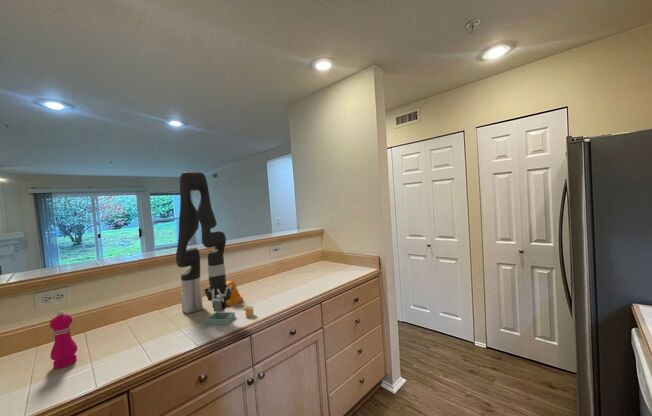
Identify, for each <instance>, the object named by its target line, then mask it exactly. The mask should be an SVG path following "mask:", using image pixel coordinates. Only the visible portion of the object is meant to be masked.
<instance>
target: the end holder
mask: <svg viewBox="0 0 652 416" xmlns="http://www.w3.org/2000/svg"><path fill="white" fill-rule="evenodd" d="M235 318H236V313H235V311H225V312H213V313H212V314H211V315H210V316H208V317H206V318H205V324H206V325H210V326H211V325H212V326H227V325H228V324H229V323H230V322H231V321H233V320H234V319H235Z"/></svg>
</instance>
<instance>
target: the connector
mask: <svg viewBox="0 0 652 416" xmlns="http://www.w3.org/2000/svg"><path fill="white" fill-rule="evenodd" d="M212 309H213V313H215V312H222V311H223V309H222V300H221V298H220V296H219V295H218V296H217V297H215V298H214V299H213V305H212Z"/></svg>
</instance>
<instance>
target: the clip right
mask: <svg viewBox="0 0 652 416" xmlns="http://www.w3.org/2000/svg"><path fill="white" fill-rule="evenodd" d="M243 311H244V312H245V318H251V317H253V316H254V306H245V307H244V308H243Z"/></svg>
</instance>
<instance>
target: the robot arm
mask: <svg viewBox="0 0 652 416" xmlns="http://www.w3.org/2000/svg"><path fill="white" fill-rule="evenodd" d="M191 191H192V192H193V191H199V194H200V200H199V204H198V207H197V208H196V207H195V205H194V203H193V201H192V200H191V199H192V198H191ZM209 191H210V190H209V186H208V180H207V178H206V176H205V174H204V173H203V172H199V171H183V172H181V174H180V177H179V194H180V195H179V198H180V199H179V200H180V202H179V215H178V216H179V217H178V238H177V239H178V240H177V246H176V254H175V261H176V265H177V267H178V268H187V267H189V269H187V270H186V271H184V272H183V273H181V275H180V282H181V294H180V301H181V311H182V312H183V313H186V314H191V313H196V312H199V311H201V310H202V309H203V308H204V306H203V294H202V292H203V291H202V282H201V253H200V250H199V248H197V247H190V248H188V244H189V243H190V241H191V239H192V238H193V236H194V235H195V234H196V232H197V231H198V229H199V227H200V226H201V227H200V229H201V230H200V231H201V243H202V245H203V246H204V247H205V248H206V249H210V248H211V249H212V248H214V249H213V250H212V251H211V252H209V253H208V254H207V266H208V267H207V268H208V269H207V272H208V273H207V274H208V283H209V284H208V285H209V287H206V288H205V289H203V290H204V294H205V296H206V298H207V301H209V302H211V305H212V306H213V299H214V298H215V297H217V296H220V298H221V300H222V309H223V310H224V309H225V310H226V309H227V307H228V305H227V302H226V301H227V300H229V299H230V297H231V293H232V287H231V286H229V287H227V285H226V281H227V277H226V266H225V261H224V260H225V259H224V255H225V254H224V253H225V249H226V243H227V242H226V241H227V238H226V234H225V232H223V231H220V230H219V231H212V229H213V228H216V226H217V225H218V223H217V220H216V217H215V214H214V210H213V207H212V203H211V197H210V192H209ZM225 290H226V292H227V294H226V292H225ZM222 294H223V295H222Z"/></svg>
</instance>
